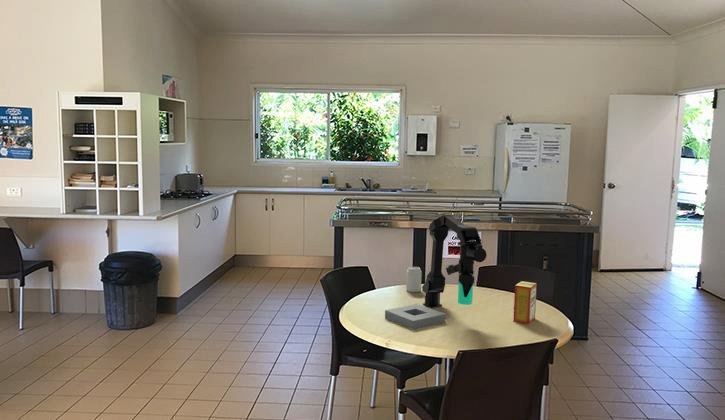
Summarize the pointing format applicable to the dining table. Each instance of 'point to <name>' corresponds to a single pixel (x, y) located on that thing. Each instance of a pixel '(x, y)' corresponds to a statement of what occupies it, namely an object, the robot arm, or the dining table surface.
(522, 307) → the baking soda box
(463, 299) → the candle
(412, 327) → the socket block
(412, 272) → the can
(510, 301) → the dining table surface
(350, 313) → the dining table surface
